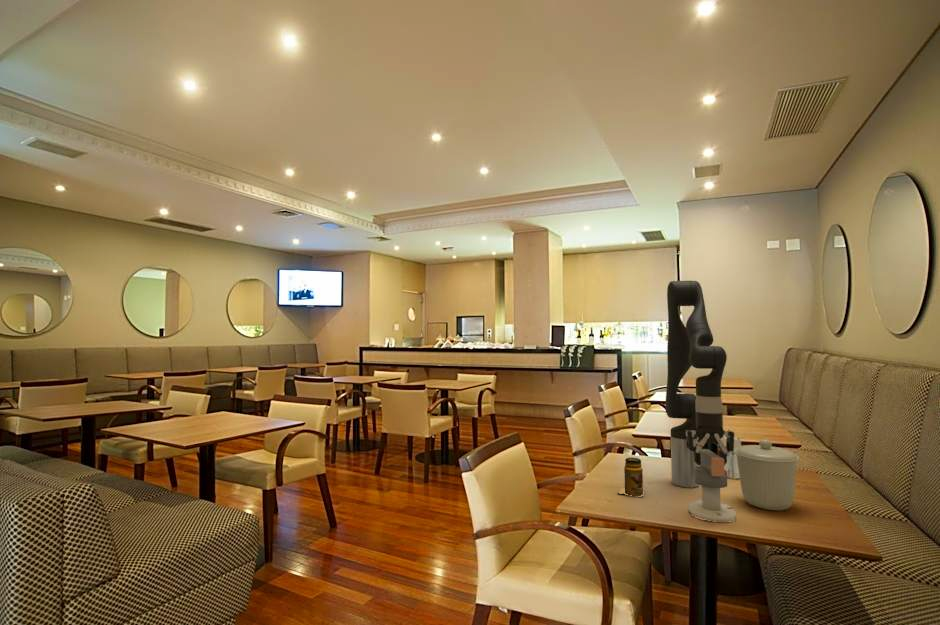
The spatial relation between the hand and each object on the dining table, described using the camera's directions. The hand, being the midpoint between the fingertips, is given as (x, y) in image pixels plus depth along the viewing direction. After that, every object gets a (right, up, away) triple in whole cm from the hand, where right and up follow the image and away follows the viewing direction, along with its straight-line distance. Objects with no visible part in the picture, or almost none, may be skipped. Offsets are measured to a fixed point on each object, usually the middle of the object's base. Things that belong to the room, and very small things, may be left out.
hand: (710, 464), depth 148 cm
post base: (0, -15, -1) cm, 15 cm away
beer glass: (+27, -17, +38) cm, 49 cm away
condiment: (-18, -16, +19) cm, 31 cm away
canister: (+22, -16, +7) cm, 28 cm away
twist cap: (0, -6, 0) cm, 6 cm away
